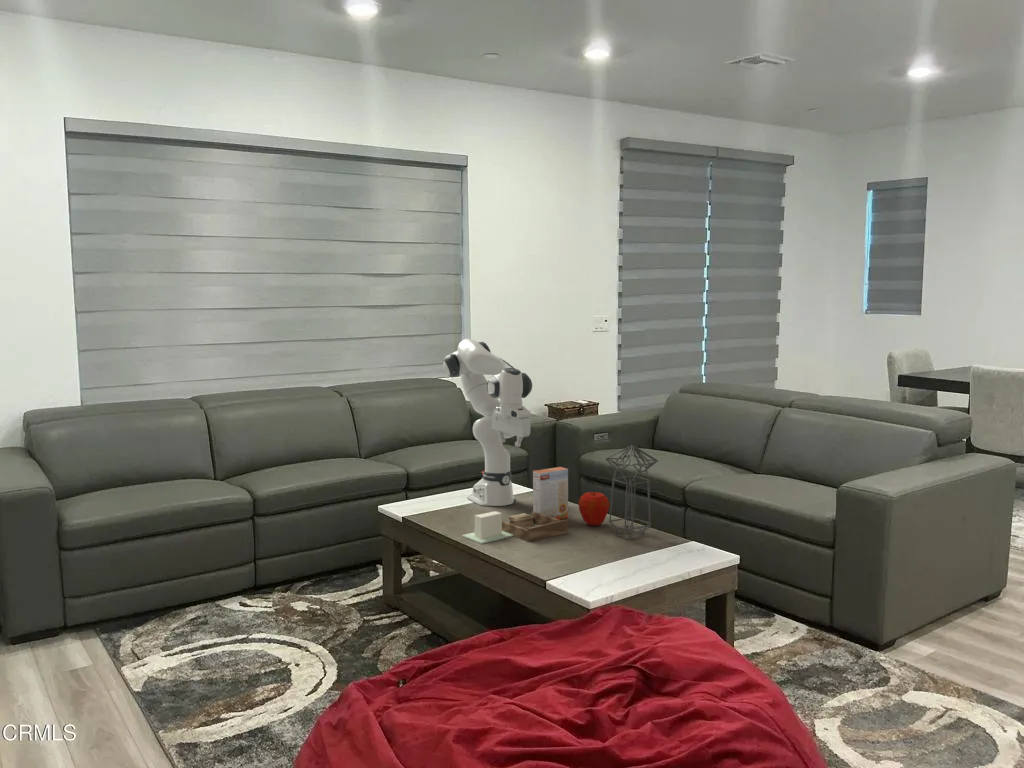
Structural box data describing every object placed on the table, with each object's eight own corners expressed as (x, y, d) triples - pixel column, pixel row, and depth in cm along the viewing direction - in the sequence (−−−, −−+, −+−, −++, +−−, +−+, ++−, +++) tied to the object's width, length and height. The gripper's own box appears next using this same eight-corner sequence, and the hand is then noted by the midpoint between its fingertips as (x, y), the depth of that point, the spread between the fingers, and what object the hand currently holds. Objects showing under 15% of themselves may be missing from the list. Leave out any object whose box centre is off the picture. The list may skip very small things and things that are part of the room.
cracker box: (560, 515, 359) (560, 466, 357) (568, 518, 354) (569, 468, 352) (532, 520, 352) (532, 469, 349) (540, 523, 347) (540, 472, 344)
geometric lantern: (601, 533, 333) (602, 444, 329) (631, 527, 342) (633, 440, 338) (629, 543, 320) (631, 451, 316) (659, 536, 329) (661, 446, 325)
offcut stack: (507, 529, 339) (508, 517, 339) (526, 524, 346) (526, 512, 345) (514, 531, 336) (514, 519, 336) (533, 526, 343) (533, 514, 342)
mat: (462, 536, 329) (462, 535, 329) (495, 529, 339) (495, 527, 339) (481, 544, 319) (481, 542, 319) (514, 536, 329) (514, 534, 329)
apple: (572, 524, 346) (572, 490, 344) (592, 519, 354) (592, 485, 352) (594, 531, 336) (595, 495, 335) (615, 525, 344) (615, 491, 343)
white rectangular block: (474, 535, 327) (474, 515, 326) (495, 531, 334) (495, 511, 333) (481, 538, 324) (481, 517, 323) (501, 533, 331) (501, 513, 330)
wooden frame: (496, 529, 338) (496, 517, 337) (533, 521, 350) (533, 509, 349) (529, 541, 322) (529, 528, 322) (567, 532, 334) (567, 519, 334)
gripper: (488, 406, 344) (487, 440, 346) (521, 414, 328) (520, 450, 330) (500, 405, 348) (499, 438, 350) (533, 413, 332) (532, 448, 334)
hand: (510, 444), depth 340 cm, fingers open, 8 cm apart
